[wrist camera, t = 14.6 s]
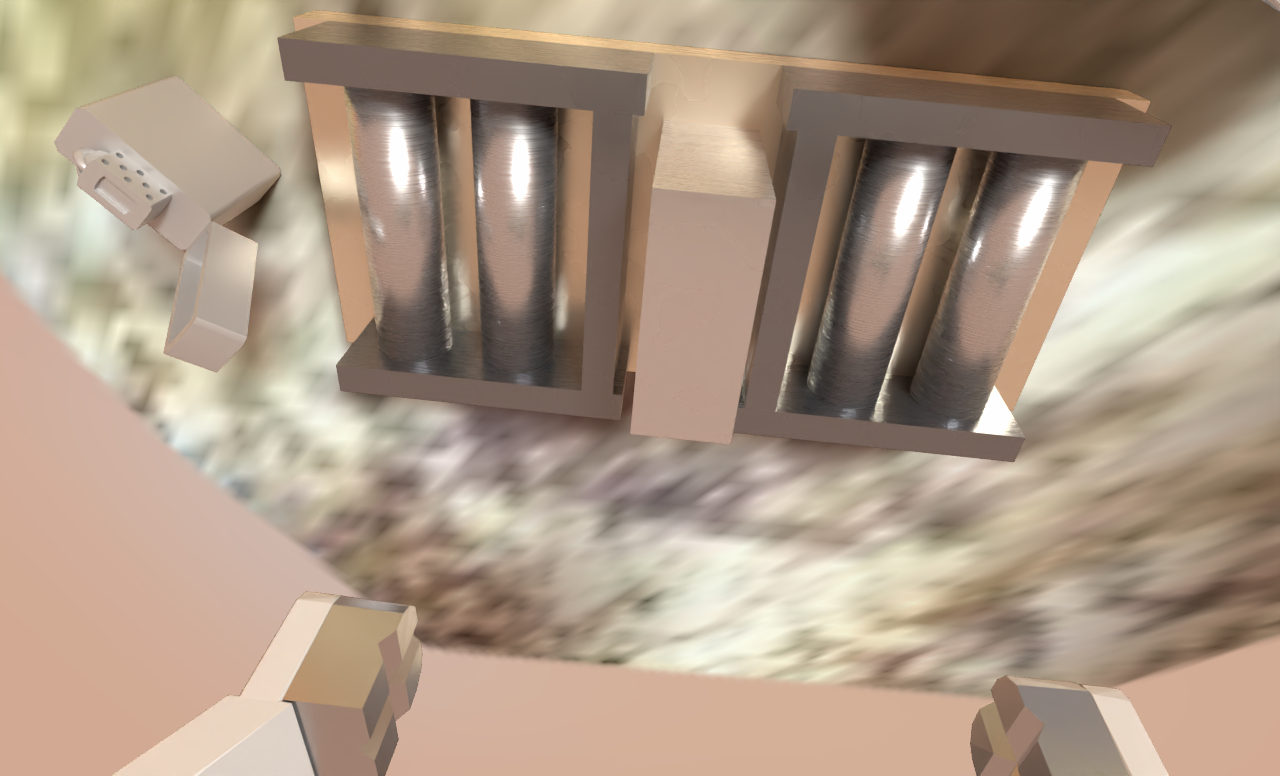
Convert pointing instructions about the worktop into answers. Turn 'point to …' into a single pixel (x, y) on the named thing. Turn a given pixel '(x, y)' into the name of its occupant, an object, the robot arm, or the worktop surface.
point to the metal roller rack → (620, 211)
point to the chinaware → (1273, 4)
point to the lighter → (179, 201)
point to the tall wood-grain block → (701, 280)
